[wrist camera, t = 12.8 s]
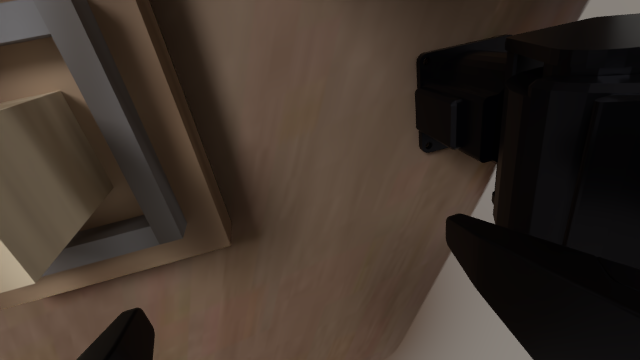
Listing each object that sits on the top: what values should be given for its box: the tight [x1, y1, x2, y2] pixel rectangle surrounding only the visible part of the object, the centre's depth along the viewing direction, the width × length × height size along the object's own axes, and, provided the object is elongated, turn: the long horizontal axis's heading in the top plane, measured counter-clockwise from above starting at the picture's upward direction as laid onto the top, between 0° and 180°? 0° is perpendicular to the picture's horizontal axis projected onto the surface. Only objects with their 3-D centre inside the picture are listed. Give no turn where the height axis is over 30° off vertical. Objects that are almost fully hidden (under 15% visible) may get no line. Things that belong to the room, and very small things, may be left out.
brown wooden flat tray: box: [0, 0, 232, 310], centre depth 15 cm, size 14×16×4 cm
